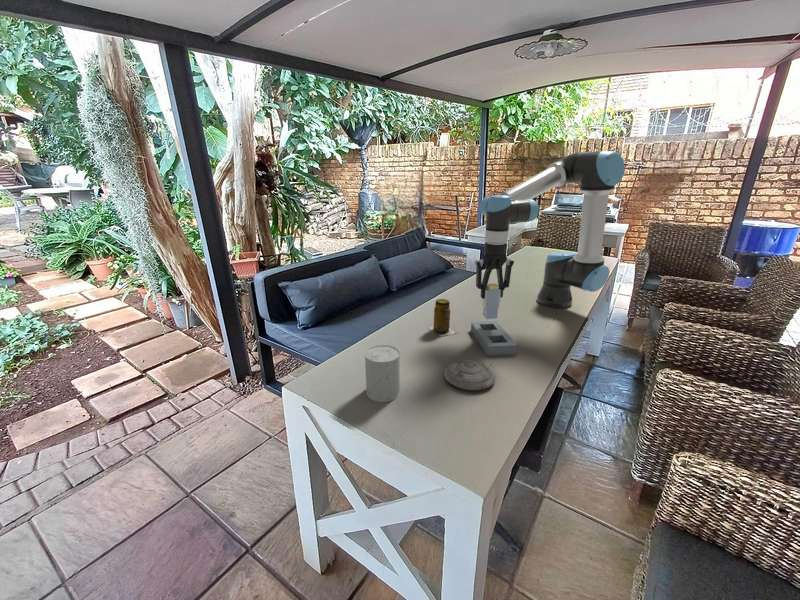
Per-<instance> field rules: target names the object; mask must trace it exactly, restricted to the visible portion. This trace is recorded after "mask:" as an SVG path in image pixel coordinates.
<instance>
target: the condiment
mask: <svg viewBox="0 0 800 600" xmlns="http://www.w3.org/2000/svg"><path fill="white" fill-rule="evenodd" d="M434 305H435V306H434V309H433V326H431V327H428V329H429V330H430V331H431V332H433V333H435V334H436V335H437V336H439V337H443V336H444V337H445V336H448V335H453V334H457V333H456V331H454V330H453V329H451V328H450V324H451V323H450V321H451V307H450V300H449V299H446V298H445V299H444V298H439V299H436V300H435V304H434Z"/></svg>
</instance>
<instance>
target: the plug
mask: <svg viewBox="0 0 800 600" xmlns="http://www.w3.org/2000/svg"><path fill="white" fill-rule="evenodd" d="M486 289H487V290H488V296H487V308H484V306H483V309H482V310H483V312H482V315H483V316H484V318H485V319H486V320H489V319H490V320H491V319H498V313H499V312H498V311H499V307H498V303H499V291H500V289H499V287H498V283H488V284H487V287H486Z"/></svg>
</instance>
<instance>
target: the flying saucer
mask: <svg viewBox="0 0 800 600" xmlns="http://www.w3.org/2000/svg"><path fill="white" fill-rule="evenodd" d="M443 375H444V379H445V380H446V381H447V382H448V383H449V384H450V385H452V386H454V387H456V388H458V389H461V390H464V391H465V390H466V391H481V390H485V389H488V388H491V386H492V385H493V384H494V383H495V380H496V376H495V374H494V372H493V370H491V368H490V367H489V366H487V365H485V364H484V363H482V362H479V361H477V360H471V359H462V360H457V361H455V362H453V363H452V362H451V364H449V365H447V367H446V368H445V370H444V372H443Z"/></svg>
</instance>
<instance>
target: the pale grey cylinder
mask: <svg viewBox="0 0 800 600" xmlns="http://www.w3.org/2000/svg"><path fill="white" fill-rule="evenodd" d="M400 353H401V352H400V350H399V349H398V348H396V347H395V346H392V345H387V344H385V345H383V344H381V345H380V344H378V345H374V346H371V347H369V348H367V349H366V351H364V362H365V366H364V367H365V381H366V382H365V388H366V391H365V392H366V396H367V398H369V400H372V401H374V402H379V403H386V402H391V401H393V400H395V399H397V398H398V397H399V396H400V393H401V389H400V388H401V387H400V386H401V385H400V384H401V383H400V379H401V378H400V377H401V376H400V367H401V366H400V365H401V364H400V361H401V360H400V359H401V358H400V355H401V354H400Z"/></svg>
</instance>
